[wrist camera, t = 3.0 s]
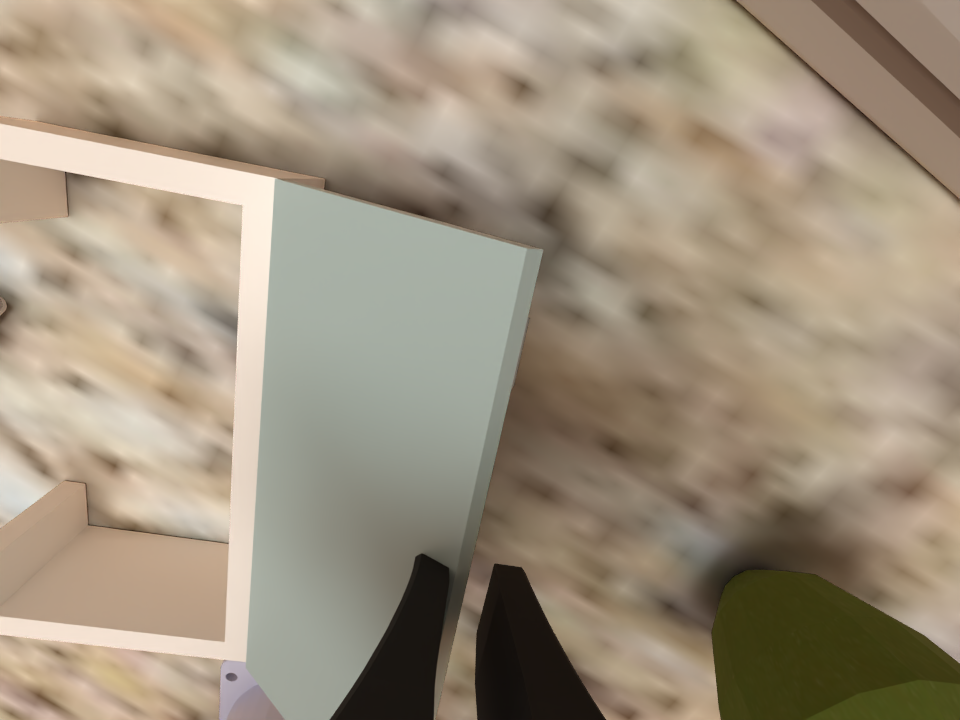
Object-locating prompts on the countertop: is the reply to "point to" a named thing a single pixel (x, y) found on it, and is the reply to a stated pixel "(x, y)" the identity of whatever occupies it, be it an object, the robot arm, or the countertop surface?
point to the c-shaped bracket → (63, 511)
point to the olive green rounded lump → (823, 656)
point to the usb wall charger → (2, 306)
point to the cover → (372, 428)
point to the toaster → (885, 66)
